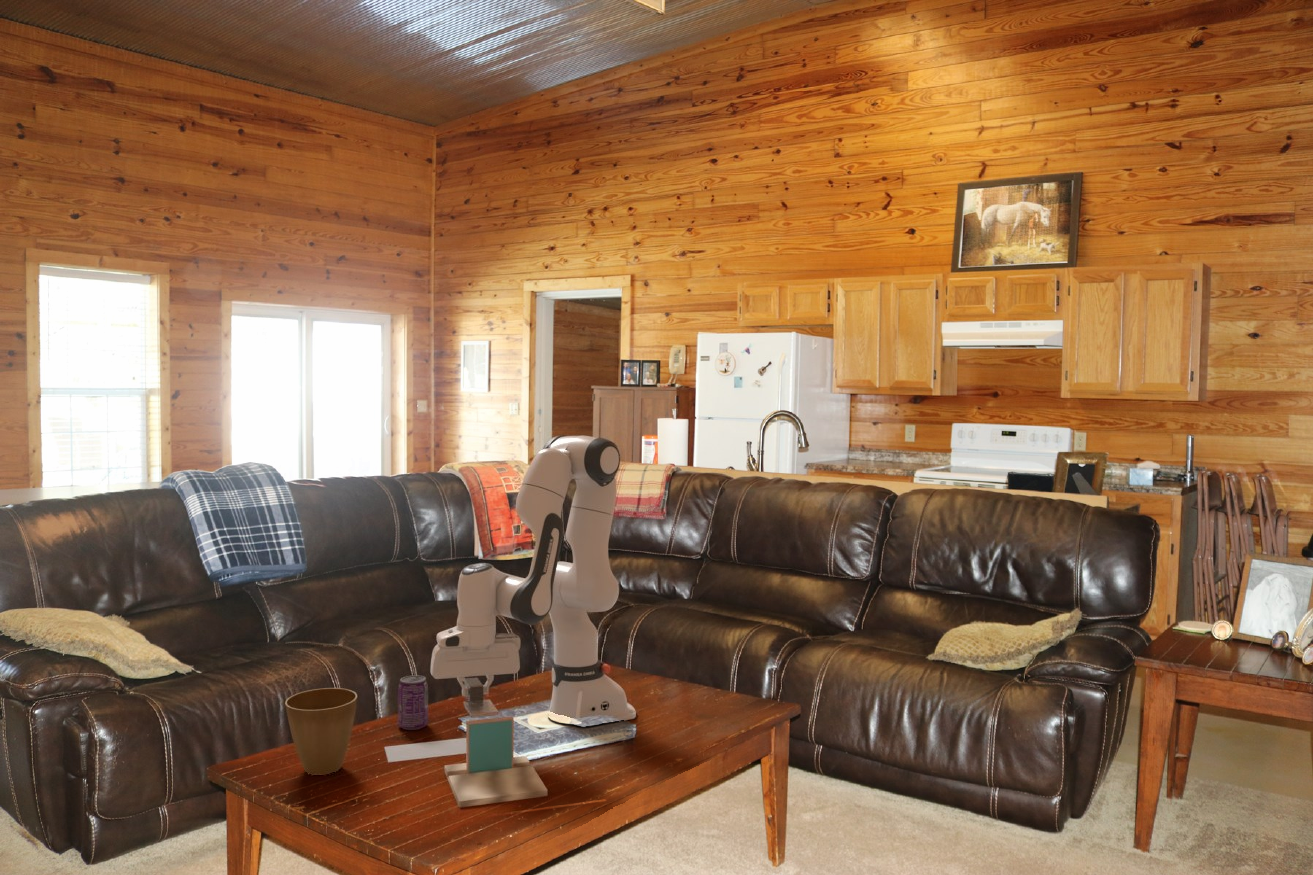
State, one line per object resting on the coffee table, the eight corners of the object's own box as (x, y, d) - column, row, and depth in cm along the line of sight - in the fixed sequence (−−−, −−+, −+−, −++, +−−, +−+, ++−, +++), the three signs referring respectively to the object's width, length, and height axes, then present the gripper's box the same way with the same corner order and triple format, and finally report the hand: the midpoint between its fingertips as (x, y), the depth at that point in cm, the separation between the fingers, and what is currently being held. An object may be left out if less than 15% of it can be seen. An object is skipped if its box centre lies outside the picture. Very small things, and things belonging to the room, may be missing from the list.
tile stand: (525, 762, 227) (525, 755, 227) (547, 797, 208) (547, 789, 208) (444, 772, 221) (444, 765, 221) (459, 809, 202) (459, 801, 202)
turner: (457, 695, 238) (458, 678, 238) (483, 693, 240) (483, 676, 240) (471, 717, 221) (471, 699, 221) (498, 715, 224) (498, 696, 223)
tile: (512, 770, 221) (512, 716, 221) (513, 772, 220) (513, 718, 220) (466, 775, 218) (466, 721, 217) (467, 778, 217) (467, 723, 216)
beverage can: (418, 719, 255) (418, 672, 254) (433, 727, 250) (433, 679, 249) (392, 726, 250) (392, 678, 249) (408, 733, 245) (407, 684, 244)
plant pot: (301, 756, 229) (300, 687, 228) (366, 758, 229) (366, 688, 228) (274, 782, 214) (273, 708, 214) (344, 784, 214) (343, 709, 213)
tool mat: (479, 737, 242) (479, 736, 242) (487, 752, 233) (487, 750, 233) (384, 748, 235) (384, 746, 235) (388, 763, 225) (388, 762, 225)
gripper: (517, 629, 240) (516, 687, 240) (429, 634, 233) (429, 693, 233) (523, 635, 234) (522, 694, 234) (433, 640, 227) (432, 701, 227)
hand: (475, 694), depth 234 cm, fingers closed on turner, 3 cm apart
